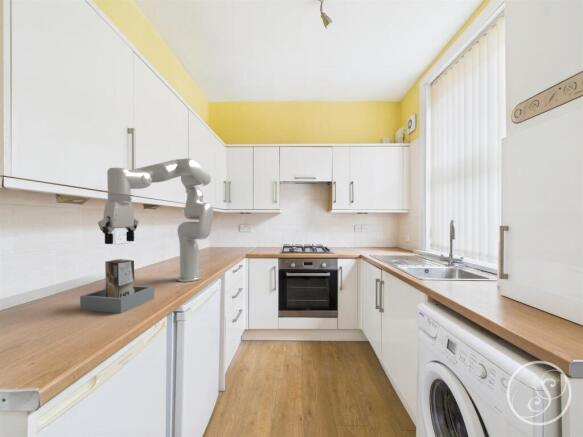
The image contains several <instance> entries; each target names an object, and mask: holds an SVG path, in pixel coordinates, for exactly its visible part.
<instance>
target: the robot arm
mask: <svg viewBox="0 0 583 437" xmlns="http://www.w3.org/2000/svg"><path fill="white" fill-rule="evenodd" d="M178 177H180V181H181V183H182V185H183V187H184V188H185V190H186V194H187V195H186V201H185V206H184V212H183V214H184V218H186V219H187V220H191V221H184V222H183V221H182V223H180V224H179V226H178V227H177V236H178V240H179V276H178V277H176V281H178V282H181V283H183V282H184V283H187V282H189V283H191V282H196V281H199V280H201V279H202V278H203V276H202V275H201V274H200V273H202V272H203V269H202V268H199V264H200V263H199V259H200V258H199V248H200V247H199V244H198V242H197V240H206V239H207V238H209V236H210V234H211V231H212V223H213V219H214V208H213V207H212V205H211V204H210V203H208V202H204V193H203V192H202V190H201V188H200V187H202V186H208V185H209V184H210V183H211V181H212V180H211V179H212V178H211V175H210V172H209V171H208V170H207V169H206V168H205V167H204V166H202V165H201V164H200V163H198V162H197V161H196V160H194V159H192V158H177V159H172V160H167V161H163V162H160V163H154V164H151V165H146V166H143V167H139V168H138V167H137V168H133V169H128V168H125V167H110V168H108V169H107V177H106V178H107V202H105V205H104V210H103V219H101V220H100V221H98V222H97V225H98V226H99V229H100V230H101V232H102V233H103V235H104V244H105V245H113V244H114V234H113V231H114V229H126V234H125V236H126V241H127V242H135V232H136V230H137V228H138V225H139V220H137V219H136V218H134V217H135V216H134V209H133V204H132V202H131V201H132V197H131V194H132V191H131V190H134V189H135V190H141V189H146V188H149V187H150V186H151V184H154V183H162V182H167V181H170V180H172V179H175V178H178Z"/></svg>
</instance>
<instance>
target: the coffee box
mask: <svg viewBox="0 0 583 437" xmlns="http://www.w3.org/2000/svg"><path fill="white" fill-rule="evenodd" d="M104 263H105V265H104V267H105V289H106V297H114V298H122V297H125V296H128V295H131V294H133V293H134V286H135V260H131V259H124V258H121V259H112V260H108V261H107V260H106V261H104Z"/></svg>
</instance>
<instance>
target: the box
mask: <svg viewBox="0 0 583 437" xmlns="http://www.w3.org/2000/svg"><path fill="white" fill-rule="evenodd" d="M154 299H155V286H146V285H134V293H133V294H131V295H128V296H125V297H122V298H114V297H106V288H102V289H100V290H97V291H96V290H95V291H93V292H90V293H86V294H83V295H80V297H79V303H80V305H79V306H80V308H79V310H81V311H90V312H91V311H92V312H103V313H115V314H123V313H125V312H127V311H129V310H132V309H133V308H137V307H138V306H141V305H143V304H145V303H147V302H150V301H152V300H154Z"/></svg>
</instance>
